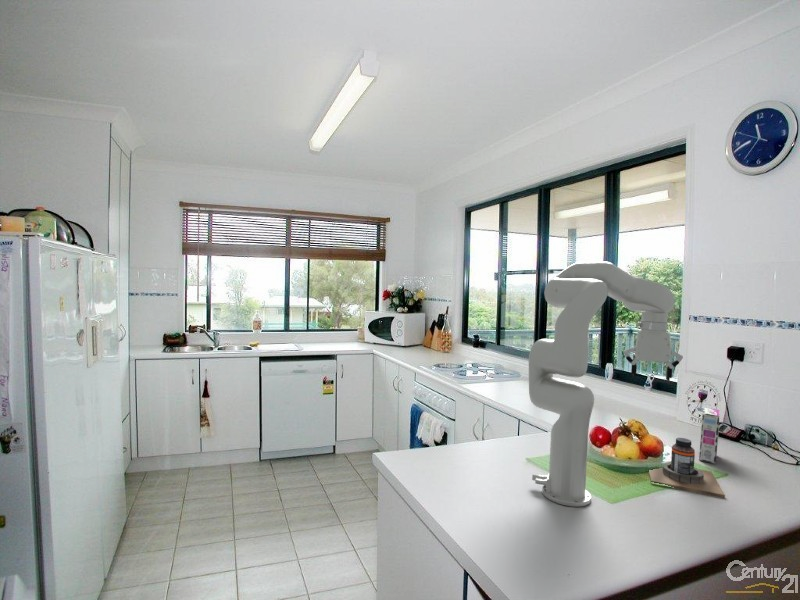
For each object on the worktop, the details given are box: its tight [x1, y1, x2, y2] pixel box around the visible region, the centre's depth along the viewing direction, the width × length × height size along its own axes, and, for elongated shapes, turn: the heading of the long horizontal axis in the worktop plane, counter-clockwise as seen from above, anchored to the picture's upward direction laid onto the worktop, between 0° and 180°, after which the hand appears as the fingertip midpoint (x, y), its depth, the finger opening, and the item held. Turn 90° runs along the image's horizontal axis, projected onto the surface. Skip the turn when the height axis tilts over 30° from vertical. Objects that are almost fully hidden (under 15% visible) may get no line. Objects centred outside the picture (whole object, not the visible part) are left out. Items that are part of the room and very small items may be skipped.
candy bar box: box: [698, 407, 720, 464], centre depth 155 cm, size 11×5×16 cm, turn 145°
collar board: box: [648, 464, 726, 499], centre depth 136 cm, size 18×18×3 cm
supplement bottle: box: [670, 437, 696, 475], centre depth 136 cm, size 6×6×11 cm
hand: (650, 378), depth 148 cm, fingers open, 9 cm apart
